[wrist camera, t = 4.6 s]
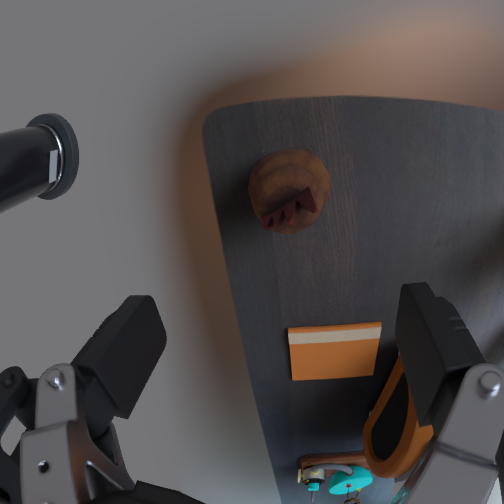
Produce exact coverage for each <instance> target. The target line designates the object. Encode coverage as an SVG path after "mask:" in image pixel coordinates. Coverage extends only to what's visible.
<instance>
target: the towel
mask: <svg viewBox="0 0 504 504" xmlns="http://www.w3.org/2000/svg"><path fill="white" fill-rule="evenodd" d="M380 334H381V321H379V322H369V323H357V324H345V325H331V326H315V327H295V328H288V338H289V346H290V357H291V369H292V380H316V379H334V378H347V377H358V376H368V375H373V372H374V367H375V361H376V356H377V350H378V344H379V338H380Z"/></svg>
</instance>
